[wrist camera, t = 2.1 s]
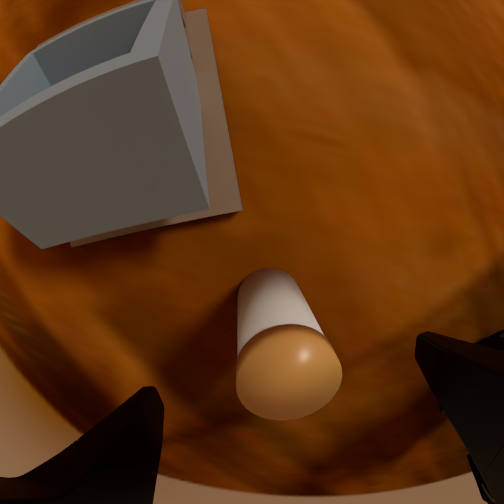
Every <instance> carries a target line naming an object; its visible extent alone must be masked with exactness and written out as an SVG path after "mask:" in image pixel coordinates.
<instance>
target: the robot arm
mask: <svg viewBox="0 0 504 504" xmlns="http://www.w3.org/2000/svg"><path fill="white" fill-rule="evenodd" d="M415 359H416V361H417V363H418V365H419V367H420V369H421V371H422V373H423V375H424V377H425V379H426V381H427V383H428V385H429V387H430V389H431V391H432V392H433V394H434V396H435V397H436V399H437V400H438V402H439V404H440V405H441V408H440V411H441V413H442V414H445V413H446V415H447V416H448V418H449V420H450V421H451V423H452V425H453V426H454V428H455V430H456V431H457V433H458V435H459V436H460V438H461V440H462V441H463V443H464V445H465V447H466V448H467V450H468V452H469V454H468V455H467V458H468V460H469V463H470V467H471V469H472V472H473V475H474V477H475V479H476V482H477V485H478V488H479V491H480V494H481V496H482V499H483V500H484V501H486V502H487V503H488V504H504V330H502V331H500V332H498V333H497V334H495V335H493V336H491V337H489V338H487V339H485V340H483V341H481V342H479V343H477V344H473V343H469V342H466V341H462V340H458V339H455V338H451V337H447V336H444V335H440V334H436V333H433V332H429V331H426V332H423V333H420V334H419V335H418V336H417V339H416V347H415ZM163 422H164V405H163V402H162V400H161V398H160V396H159V393H158V391H157V389H156V388H155V387H153V386H148V387H142V388H141V389H140V390H139V391H137V392H136V393H135V394H134V395H133V396H131V397H130V398H129V399H128V400H126V401H125V402H124V403H123V404H121V405H120V406H119V407H118V408H117V409H115V410H114V411H113V412H112V413H110V414H109V415H108V416H107V417H105V418H104V419H103V420H102V421H100V422H99V423H98V424H97V425H95V426H94V427H93V428H91V429H90V430H89V431H88V432H86V433H85V434H84V435H83V436H81V437H80V438H79V439H78V441H75V442H74V443H72V444H71V445H70V446H69V447H67V448H66V449H64V450H63V451H62V452H60V453H59V454H57V455H56V456H54V457H52V458H51V459H49V460H48V461H46V462H45V463H43V464H41V465H40V466H38V467H36V468H34V469H33V470H31V471H29V472H28V473H26V474H24V475H22V476H19V477H13V478H5V477H0V504H153V499H154V491H155V485H156V479H157V473H158V467H159V461H160V456H161V450H162V440H163Z"/></svg>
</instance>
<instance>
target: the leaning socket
mask: <svg viewBox="0 0 504 504" xmlns="http://www.w3.org/2000/svg"><path fill="white" fill-rule="evenodd" d="M242 210H243V209H242V204H241V198H240V193H239V187H238V182H237V176H236V171H235V166H234V160H233V155H232V149H231V144H230V138H229V133H228V127H227V122H226V116H225V111H224V105H223V100H222V94H221V89H220V83H219V78H218V72H217V67H216V61H215V56H214V50H213V45H212V39H211V34H210V28H209V23H208V17H207V12H206V8H204V9H198V10H194V11H189V12H185V10H184V7H183V4H182V1H181V0H137V1H134V2H131V3H128V4H125V5H122V6H119V7H117V8H114V9H111V10H109V11H106V12H104V13H101V14H99V15H97V16H94V17H92V18H90V19H87V20H85V21H83V22H81V23H79V24H77V25H75V26H73V27H71V28H69V29H67V30H65V31H63V32H61V33H59V34H57V35H55V36H53V37H51V38H50V39H48V40H46V41H44V42H43V43H41V44H39V45H38V46H37V48H36V49H35V50H33V51H31V52H30V53H28V54H27V55H26V56H25V57H24V58H23V59H22V60H21V61H20V62H19V64H18V65H17V66H16V67H15V68H14V69H13V70H12V72H11V73H10V74H9V75H8V76H7V78H6V79H5V80H4V81H3V83H2V84H1V85H0V216H1V217H2V218H4V219H5V220H6V221H7V222H8V223H10V224H11V225H12V226H13V227H14V228H16V229H17V230H18V231H19V232H20V233H22V234H23V235H24V236H25V237H27V238H28V239H29V240H30V241H32V242H33V243H34V244H36V245H37V246H38V247H39V248H41V249H45V248H48V247H52V246H56V245H59V244H63V243H67V242H70V244H71V248H72V247H76V246H80V245H84V244H88V243H92V242H96V241H100V240H104V239H108V238H112V237H117V236H121V235H125V234H130V233H134V232H139V231H143V230H148V229H152V228H157V227H161V226H166V225H171V224H176V223H180V222H185V221H190V220H195V219H200V218H205V217H210V216H215V215H221V214H226V213H231V212H236V211H242Z"/></svg>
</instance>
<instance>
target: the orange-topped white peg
mask: <svg viewBox="0 0 504 504" xmlns="http://www.w3.org/2000/svg"><path fill="white" fill-rule="evenodd" d="M237 352H238V358H237V362H236V391H237V395H238V398H239V400H240V401H241V403H242V404H243V405H244V407H245V408H247V409H248V410H249V411H250V412H252V413H253V414H255V415H257V416H260V417H262V418H266V419H270V420H293V419H298V418H302V417H305V416H308V415H310V414H312V413H314V412H316V411H318V410H319V409H321V408H322V407H324V406H325V405H326V404H327V403H328V402H329V401H330V400H331V399H332V398H333V397H334V395H335V394H336V392H337V391H338V389H339V386H340V384H341V380H342V368H341V364H340V362H339V360H338V358H337V356H336V354H335V352H334V350H333V348H332V346H331V344H330V343H329V341H328V340H327V338H326V337H325V336H324V334H323V332H322V330H321V329H320V327H319V325H318V323H317V321H316V319H315V317H314V315H313V313H312V311H311V310H310V308H309V306H308V304H307V302H306V300H305V298H304V296H303V294H302V293H301V291H300V289H299V287H298V285H297V283H296V281H295V280H294V279H293V278H292V277H291V276H290V275H289V274H288V273H286V272H284V271H282V270H280V269H275V268H264V269H260V270H257V271H255V272H253V273H251V274H250V275H249V276H248V277H246V278H245V280H244V281H243V282H242V284H241V285H240V288H239V291H238V299H237Z"/></svg>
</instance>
